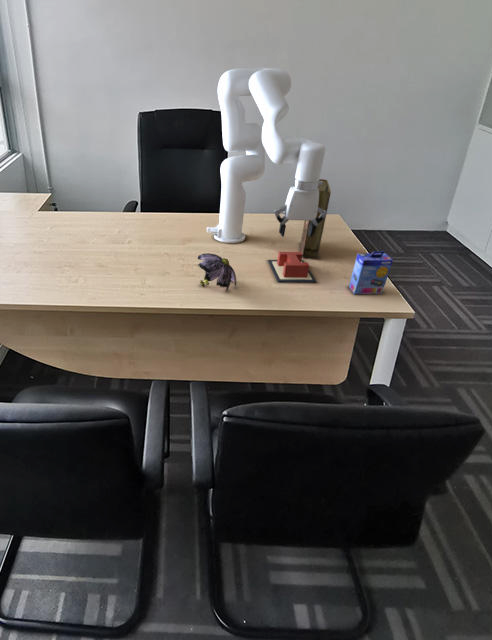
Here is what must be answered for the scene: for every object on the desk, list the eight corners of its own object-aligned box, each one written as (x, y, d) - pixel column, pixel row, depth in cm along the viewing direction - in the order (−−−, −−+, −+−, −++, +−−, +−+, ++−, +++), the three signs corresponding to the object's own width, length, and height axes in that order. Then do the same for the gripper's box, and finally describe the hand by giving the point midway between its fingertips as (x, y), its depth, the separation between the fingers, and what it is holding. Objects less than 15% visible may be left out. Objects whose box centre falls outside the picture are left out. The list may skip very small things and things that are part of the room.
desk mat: (277, 282, 165) (278, 281, 165) (268, 260, 180) (268, 259, 180) (316, 282, 166) (316, 281, 165) (303, 261, 180) (303, 259, 180)
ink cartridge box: (354, 295, 158) (365, 253, 150) (347, 287, 163) (357, 246, 155) (383, 294, 159) (396, 252, 151) (376, 286, 163) (387, 245, 155)
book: (300, 242, 196) (311, 178, 182) (314, 243, 195) (327, 179, 181) (301, 258, 183) (314, 190, 169) (317, 259, 182) (331, 191, 168)
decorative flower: (238, 271, 150) (196, 248, 153) (221, 303, 155) (181, 281, 158) (249, 265, 162) (210, 245, 166) (233, 296, 167) (196, 275, 171)
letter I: (283, 277, 168) (285, 265, 165) (276, 263, 178) (278, 251, 175) (307, 277, 168) (309, 265, 165) (298, 263, 178) (300, 251, 175)
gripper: (329, 181, 159) (318, 231, 169) (276, 180, 159) (268, 230, 169) (336, 188, 153) (324, 240, 163) (281, 187, 153) (272, 239, 163)
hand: (296, 235), depth 166 cm, fingers open, 9 cm apart
